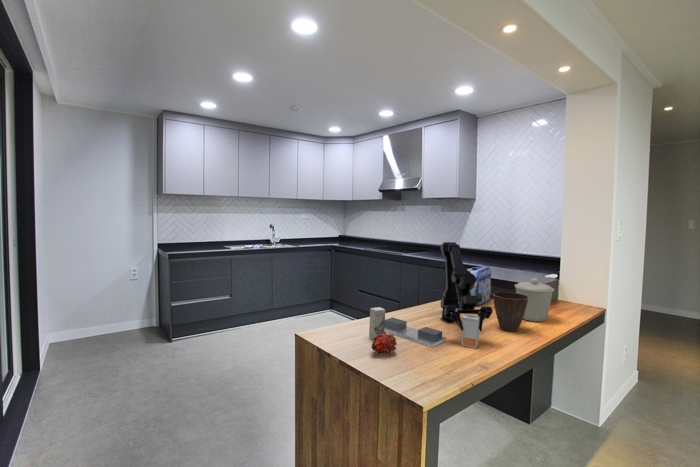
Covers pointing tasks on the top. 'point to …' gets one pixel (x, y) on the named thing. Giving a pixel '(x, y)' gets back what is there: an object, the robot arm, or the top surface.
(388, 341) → the dragon fruit
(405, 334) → the rail plate
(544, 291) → the canister
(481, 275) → the lunch box
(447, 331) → the top surface
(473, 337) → the skincare box
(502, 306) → the plant pot
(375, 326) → the box
